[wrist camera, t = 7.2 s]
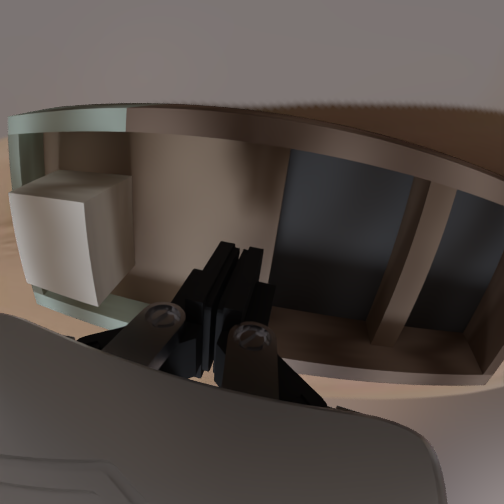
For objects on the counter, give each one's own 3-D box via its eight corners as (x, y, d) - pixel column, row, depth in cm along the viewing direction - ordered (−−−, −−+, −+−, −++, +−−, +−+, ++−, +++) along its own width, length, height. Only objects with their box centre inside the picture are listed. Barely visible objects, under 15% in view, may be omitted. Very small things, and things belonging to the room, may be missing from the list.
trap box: (532, 189, 13) (575, 217, 9) (465, 341, 19) (485, 385, 15) (59, 106, 15) (7, 116, 11) (72, 270, 21) (37, 303, 17)
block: (132, 176, 14) (83, 203, 11) (135, 264, 16) (98, 306, 13) (58, 169, 15) (8, 192, 11) (67, 249, 17) (26, 282, 13)
